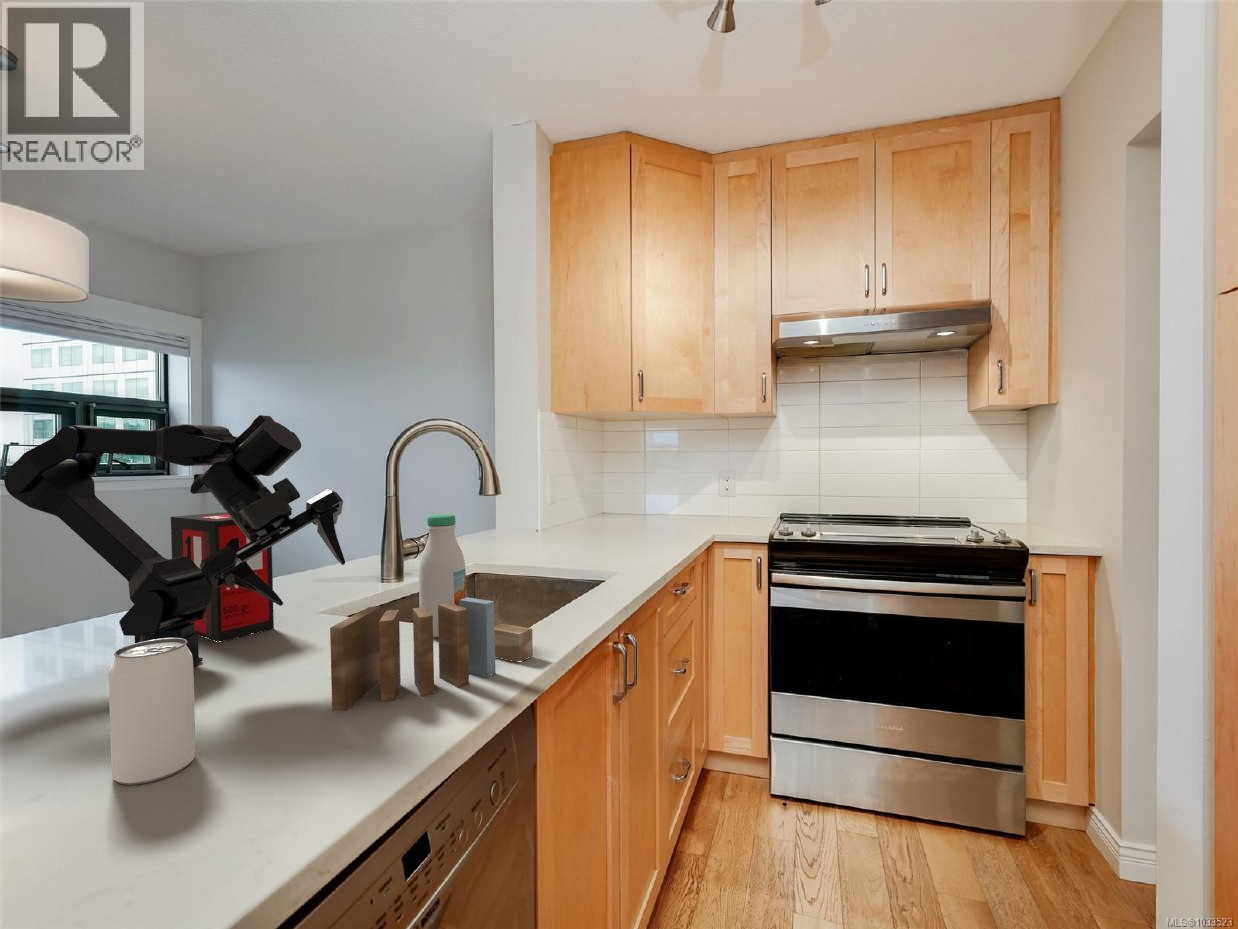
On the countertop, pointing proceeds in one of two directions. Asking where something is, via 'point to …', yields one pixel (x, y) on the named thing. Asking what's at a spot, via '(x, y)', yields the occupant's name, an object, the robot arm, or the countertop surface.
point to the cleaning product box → (228, 606)
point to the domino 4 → (453, 644)
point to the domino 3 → (423, 651)
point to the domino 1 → (355, 657)
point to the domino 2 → (389, 655)
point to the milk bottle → (441, 568)
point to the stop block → (513, 642)
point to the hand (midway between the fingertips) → (314, 583)
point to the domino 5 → (480, 635)
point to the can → (151, 710)
